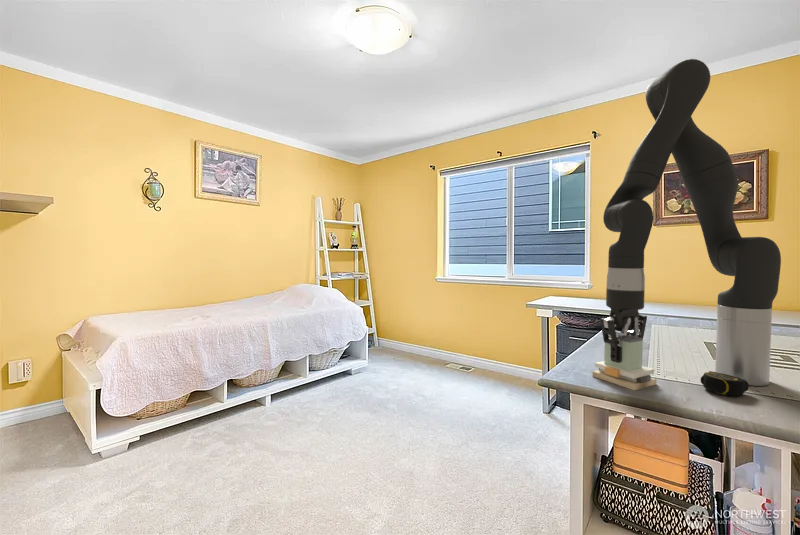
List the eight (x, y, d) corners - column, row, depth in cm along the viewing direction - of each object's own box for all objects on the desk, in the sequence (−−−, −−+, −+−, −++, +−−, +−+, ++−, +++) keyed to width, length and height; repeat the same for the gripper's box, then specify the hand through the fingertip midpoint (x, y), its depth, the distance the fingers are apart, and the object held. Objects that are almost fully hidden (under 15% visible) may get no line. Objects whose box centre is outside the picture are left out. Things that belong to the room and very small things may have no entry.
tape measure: (750, 395, 76) (750, 377, 76) (735, 401, 73) (736, 383, 72) (710, 385, 82) (710, 368, 82) (695, 390, 79) (695, 373, 78)
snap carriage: (614, 366, 90) (614, 358, 90) (654, 378, 82) (654, 368, 82) (592, 371, 87) (592, 363, 87) (631, 384, 78) (631, 374, 78)
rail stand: (613, 371, 91) (613, 361, 91) (656, 384, 82) (656, 373, 82) (592, 376, 87) (592, 366, 87) (634, 390, 78) (634, 379, 78)
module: (616, 361, 88) (617, 332, 88) (642, 368, 83) (642, 337, 83) (604, 363, 86) (604, 334, 86) (629, 370, 81) (630, 340, 81)
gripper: (621, 290, 77) (619, 369, 78) (660, 287, 83) (658, 360, 84) (589, 287, 84) (588, 360, 85) (628, 285, 90) (626, 352, 91)
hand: (623, 359), depth 84 cm, fingers closed on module, 4 cm apart
